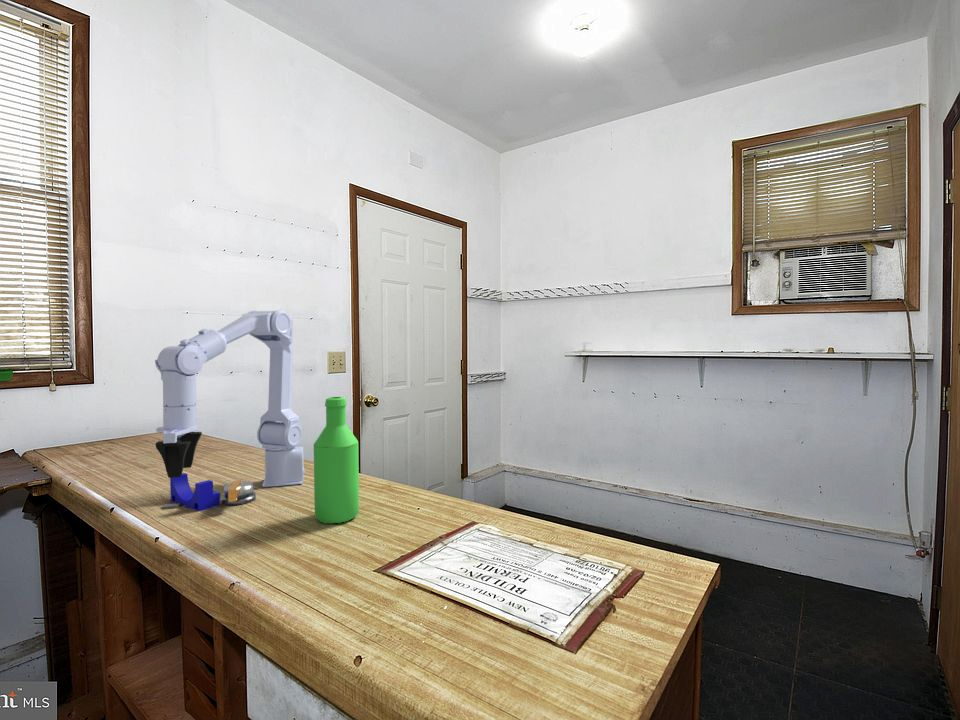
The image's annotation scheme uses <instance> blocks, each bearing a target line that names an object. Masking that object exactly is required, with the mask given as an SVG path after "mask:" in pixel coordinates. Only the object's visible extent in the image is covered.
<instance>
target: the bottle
mask: <svg viewBox="0 0 960 720" xmlns="http://www.w3.org/2000/svg"><path fill="white" fill-rule="evenodd" d="M347 403H348V402H347V398H346V397H344V396H343V397H342V396H332V397H331V396H330V397H327V398H326V399H325V403H324V406H325V418H326V419H325V420H326V421H325V422H326V423H325V427H324V428H323V429H322V431H321V432H320V434H319V436H318V437H317V439H316V440H315V442H314V443H313V481H314V482H313V485H314V487H313V490H314V494H313V495H314V497H313V498H314V517H315V519H317V520H318V521H319V522H321V523H323V522H324V523H323V524H327V523H338V524H343V523H342V522H344V523H347V522H349V520H350V521H352V520H353V519H354V518H355V517H357V515H359V511H360V489H359V488H360V480H359V479H360V478H359V477H360V476H359V473H360V471H359V469H360V467H359V466H360V465H359V460H360V459H359V441H358V439H357V437H356V436H355V435H354V434H353V432H352V431H351V429H350V428H349V427H348V425H347V424H346V423H347V422H346V421H347V419H346V417H347V416H346V411H347V410H346V406H347V405H348V404H347ZM351 519H352V520H351ZM346 521H347V522H346Z"/></svg>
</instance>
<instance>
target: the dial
mask: <svg viewBox="0 0 960 720" xmlns="http://www.w3.org/2000/svg"><path fill="white" fill-rule="evenodd" d="M253 492H254V482H251V481H248V480H245V481H244V480H243V481H242V480H241V479H240V480H233V482H231V483H227V484H225V485H224V486H223V496H224V498H227V499H228V502H232V501H237V499H239V498H245V497H248V496H251V495H252V494H253Z"/></svg>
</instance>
